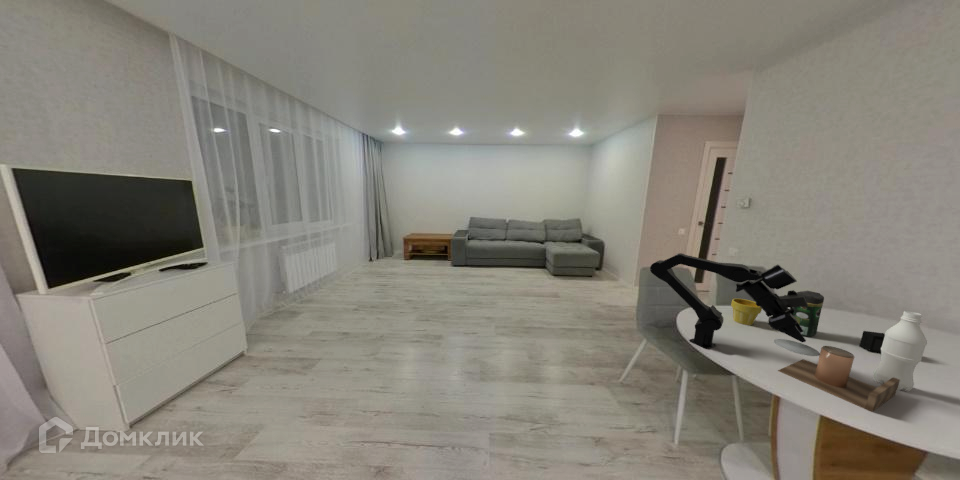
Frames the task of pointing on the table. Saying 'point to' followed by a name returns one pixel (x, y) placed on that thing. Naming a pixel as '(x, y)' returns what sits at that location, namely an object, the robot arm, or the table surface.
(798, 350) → the ceramic saucer
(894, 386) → the wooden bookend
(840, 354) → the terracotta pot
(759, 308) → the plant pot
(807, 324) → the coffee jar
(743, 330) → the table surface
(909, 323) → the water bottle
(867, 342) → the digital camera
